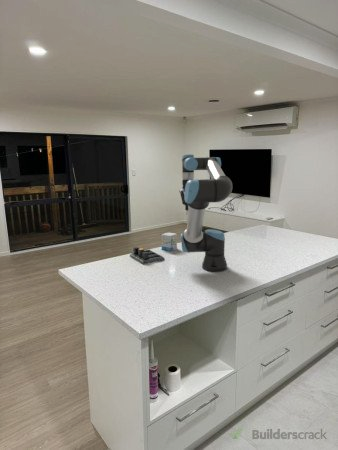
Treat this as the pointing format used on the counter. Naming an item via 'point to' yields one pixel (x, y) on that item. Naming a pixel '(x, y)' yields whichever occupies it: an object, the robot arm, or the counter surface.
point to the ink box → (169, 241)
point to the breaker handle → (140, 252)
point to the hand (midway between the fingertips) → (188, 215)
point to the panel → (151, 257)
